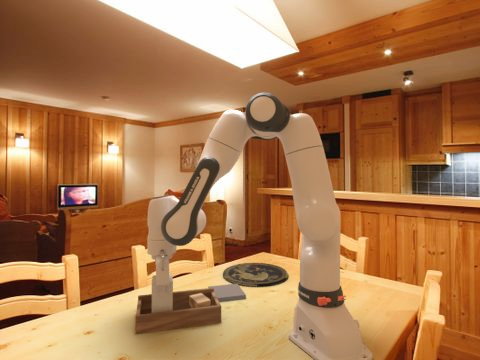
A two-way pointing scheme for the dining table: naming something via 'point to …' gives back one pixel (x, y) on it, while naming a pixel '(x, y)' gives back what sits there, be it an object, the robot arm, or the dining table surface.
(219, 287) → the plate
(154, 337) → the dining table surface
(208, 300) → the offcut upper
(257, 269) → the decorative plate
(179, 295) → the tray
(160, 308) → the small box
